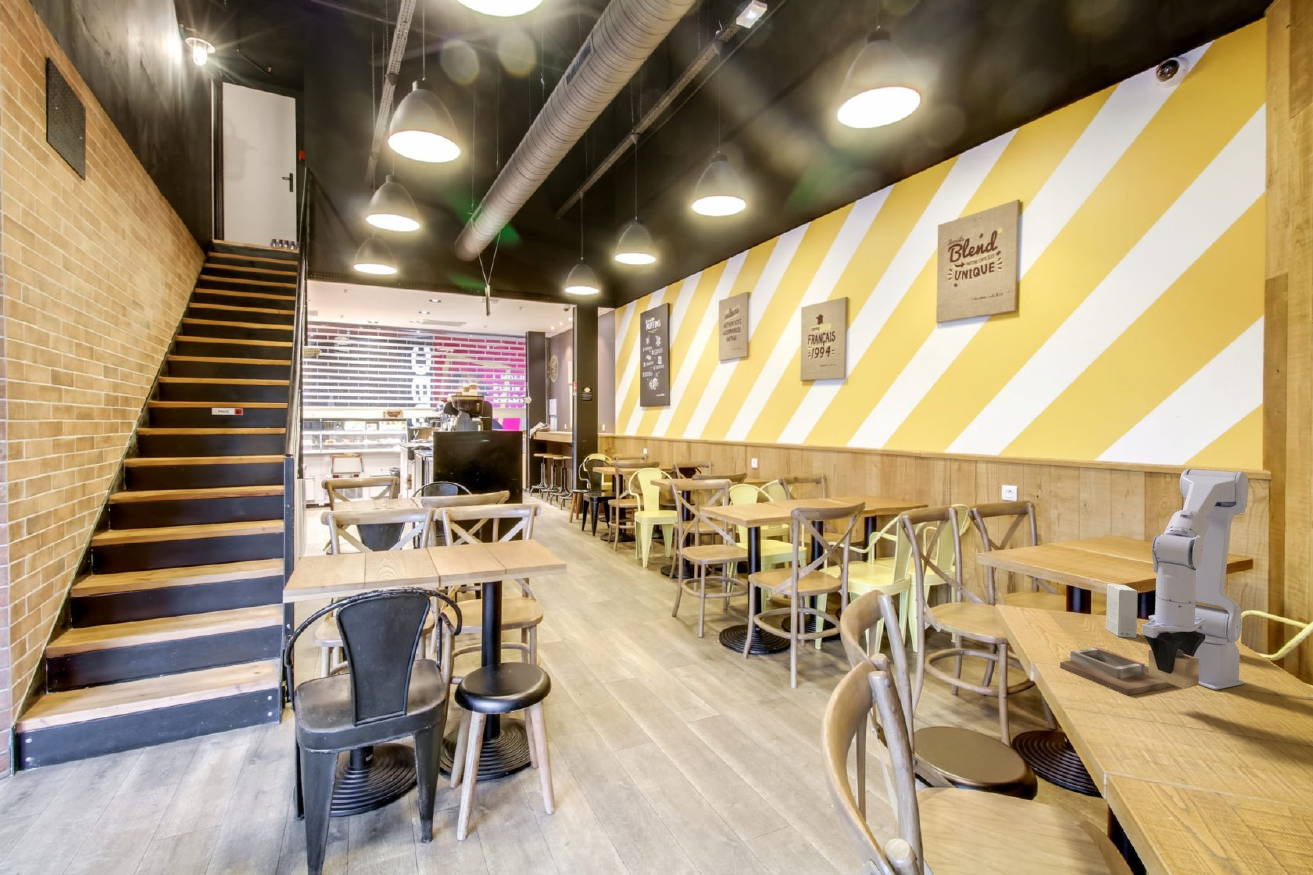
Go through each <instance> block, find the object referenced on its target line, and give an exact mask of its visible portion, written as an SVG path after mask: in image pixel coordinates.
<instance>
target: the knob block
mask: <svg viewBox="0 0 1313 875" xmlns="http://www.w3.org/2000/svg"><path fill="white" fill-rule="evenodd" d="M1148 667H1149V676H1151V677H1153V678H1156V679H1159V680H1161V681H1164V682H1167V683H1170V684H1172V685H1175V686H1174V687H1178V688H1180V689H1183V690H1185V689H1189V688H1192V687H1196V686H1199V685H1200V684H1199V659H1198V658H1195V657H1192V656H1189V655H1186V654H1184V652H1183V651H1182V650H1180V649H1178V651H1177V653H1176V657H1175V663H1174V669H1173V672H1172V673H1171V674H1168V673H1166V672H1163V671H1160V670H1158V668H1157V665H1156V661H1155V658H1154V655H1153V651H1152V649H1149V650H1148Z"/></svg>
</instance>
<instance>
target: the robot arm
mask: <svg viewBox="0 0 1313 875" xmlns="http://www.w3.org/2000/svg"><path fill="white" fill-rule="evenodd" d="M1249 483H1250V482H1249V477H1248V475H1247V474H1246V473H1245V472H1244V471H1226V470H1225V471H1223V470H1208V469H1207V470H1206V469H1205V470H1204V469H1192V468H1186V469H1185V470H1183V471H1182V473H1181V475H1180V478H1179V490H1180V494H1181V495H1182V497H1183V499H1184V505H1183V507H1182V508H1183V509H1182V510H1181V509H1180V510H1178V511H1175V512H1174V513H1173V514H1172V516H1171V518H1170V519H1169V522H1168V524H1167V526H1166V528H1165V530H1164V531H1163V533H1161V534H1160V535H1159V536H1158V535H1156V536H1154V537H1153V540H1152V544H1151V560H1152V562H1153V563H1152V564H1153V573H1155V574H1156V575H1155V579H1156V580H1155V607H1154V608H1155V609H1154V614H1151V615H1148V619H1149V620H1150V621H1147V623H1143V624H1141V626H1142V627H1141V629H1142V630H1141V634H1142V635H1143V637H1144V638H1145V639H1146V641H1147V643H1148V645H1149V646H1150V650H1152V651H1153V655H1154V658H1155V661H1156V665H1157V668H1158V670H1160V671H1163V672H1166V673H1168V674H1171V673H1172V672H1173V669H1174V663H1175V657H1176V653H1177V651H1178V649H1180V650H1182V651H1183V652H1184V654H1186V655H1189V656H1192V657H1195V658H1198V659H1199V685H1200V686H1203V687H1205V688H1209V689H1211V690H1215V691H1216V690H1220V689H1221V690H1222V689H1226V688H1230V687H1231V688H1232V687H1235V686H1240V685H1244V684H1245V681H1244V680H1241V679H1240V658H1241V656H1240V655H1241V652H1240V649H1239V648H1238V646H1237V644H1236V642H1238V641H1239V640H1240V638H1241V635H1242V634H1241V633H1242V628H1243V627H1242V625H1243V622H1242V609H1241V606H1240V605H1239V604H1238V603H1237V602H1236V601H1235V600H1234V599H1232V598H1231V597H1229V595H1227V594H1226V593H1225V586H1226V576H1227V567H1228V566H1227V565H1228V556H1229V547H1230V546H1229V545H1230V538H1231V537H1230V536H1231V528H1232V523H1233V521H1234V518H1235V516H1236V515H1240V514H1243V513H1246V508H1247V506H1248V498H1249V489H1250V488H1249V486H1250V485H1249ZM1196 603H1200V604H1196ZM1201 604H1204V605H1201ZM1206 605H1209V606H1206ZM1211 606H1215V607H1220V608H1215V607H1211ZM1222 608H1223V609H1222Z"/></svg>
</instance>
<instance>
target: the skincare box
mask: <svg viewBox="0 0 1313 875" xmlns="http://www.w3.org/2000/svg"><path fill="white" fill-rule="evenodd" d="M1105 614H1106V617H1105V629H1106V630H1107V631H1108V632H1110V633H1112V634H1113V635H1115V636H1116V637H1118V638H1119V637H1120V638H1132V639H1135V638H1137V630H1138V628H1137V625H1138V622H1137V620H1138V590H1136V589H1134V588H1132V587H1130V586H1128V585H1126V584H1117V583H1116V584H1114V583H1107V585H1106V613H1105Z"/></svg>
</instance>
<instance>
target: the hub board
mask: <svg viewBox="0 0 1313 875" xmlns="http://www.w3.org/2000/svg"><path fill="white" fill-rule="evenodd" d="M1059 663H1060V664H1059V668H1061V669H1063V670H1065V671H1067V672H1070V673H1073V674H1075V675H1077V676H1078V677H1082V678H1084V679H1087V680H1089V681H1091V680H1092V681H1091V682H1094V683H1096V684H1098V683H1099V685H1101V684H1102V685H1101V686H1103V685H1104V686H1103V687H1106V688H1108V687H1110V688H1111V690H1113V691H1116V692H1118V691H1119V692H1118V693H1120V694H1123V695H1126V696H1133V695H1138V694H1142V693H1147V691H1148V692H1152V691H1158V690H1162V688H1163V689H1166V688H1165V687H1168V688H1172V687H1176V686H1175V685H1172V684H1170V683H1167V682H1164V681H1161V680H1159V679H1156V678H1153V677H1151V676H1149V665H1146V664H1145V663H1144V662H1141V661H1138V660H1135V659H1132V658H1129V657H1127V656H1124V655H1121V654H1118V653H1115V652H1113V651H1110V650H1107V649H1104V648H1101V647H1099V646H1094V647H1091V648H1085V649H1078V650H1073V651H1070V660H1066V661H1061V662H1059ZM1110 688H1109V689H1110Z"/></svg>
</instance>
